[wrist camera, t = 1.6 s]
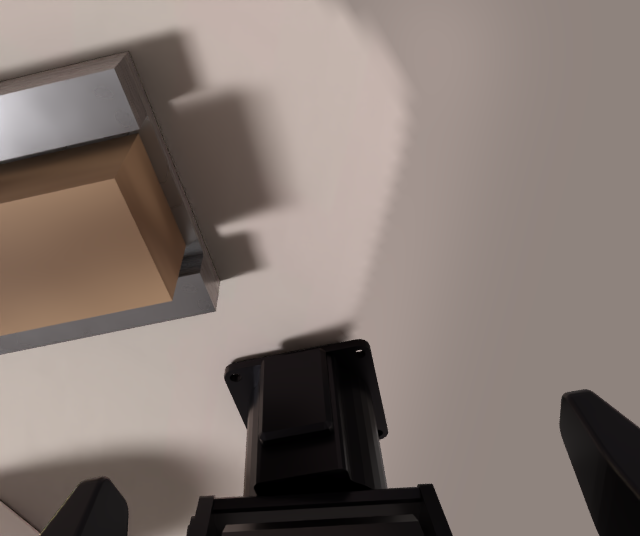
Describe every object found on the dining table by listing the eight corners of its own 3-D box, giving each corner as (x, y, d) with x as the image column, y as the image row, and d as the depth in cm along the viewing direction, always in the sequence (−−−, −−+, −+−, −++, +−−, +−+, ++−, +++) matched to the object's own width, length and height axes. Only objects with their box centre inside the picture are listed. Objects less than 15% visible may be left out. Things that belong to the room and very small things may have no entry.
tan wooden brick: (185, 245, 20) (172, 300, 18) (5, 283, 21) (-34, 342, 18) (138, 133, 18) (114, 178, 15) (-66, 179, 18) (-123, 230, 16)
